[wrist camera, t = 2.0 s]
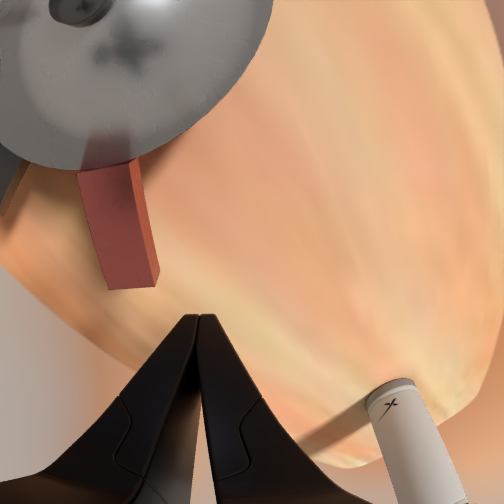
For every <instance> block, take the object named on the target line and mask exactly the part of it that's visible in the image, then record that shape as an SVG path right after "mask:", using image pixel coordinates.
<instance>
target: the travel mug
mask: <svg viewBox="0 0 504 504" xmlns="http://www.w3.org/2000/svg"><path fill="white" fill-rule="evenodd" d="M365 406H366V410H367V412H368V415H369V417H370V421H371V423H372V426H373V429H374V432H375V435H376V437H377V440H378V443H379V446H380V449H381V452H382V455H383V458H384V461H385V464H386V466H387V469H388V472H389V476H390V479H391V482H392V485H393V488H394V491H395V494H396V497H397V501H398V504H468V500H467V499H465V497H466V495H465V492H464V490H463V487H462V485H461V482H460V480H459V477H458V475H457V472H456V470H455V468H454V465H453V463H452V461H451V458H450V456H449V454H448V452H447V449H446V447H445V445H444V443H443V441H442V438H441V436H440V434H439V432H438V430H437V428H436V425H435V423H434V421H433V419H432V417H431V415H430V413H429V411H428V409H427V407H426V405H425V403H424V401H423V399H422V397H421V395H420V393H419V392H418V389H417V387H416V385H415V383H414V382H413V381H412V380H410V379H407V378H404V379H397V380H393V381H391V382H388V383H386V384H384V385H382V386H381V387H379V388H378V389H376V390H375V391H374V392H373V393H372V394H371V395H370V396H369V397H368V399H367V401H366V404H365Z"/></svg>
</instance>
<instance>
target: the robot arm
mask: <svg viewBox="0 0 504 504" xmlns="http://www.w3.org/2000/svg"><path fill="white" fill-rule="evenodd" d="M201 402H202V409H203V417H204V424H205V431H206V439H207V446H208V453H209V459H210V465H211V471H212V478H213V482H214V489H215V495H216V501H217V504H372V503H370V502H368V501H366V500H363V499H361V498H359V497H357V496H355V495H353V494H351V493H349V492H347V491H345V490H344V489H342V488H341V487H339V486H338V485H336V484H335V483H334V482H333V481H332V480H331V479H329V478H328V477H327V476H326V475H325V474H324V473H323V472H322V471H321V470H320V468H319V467H318V466H317V465H316V464H315V463H314V462H313V461H312V460H311V459H310V458H309V457H308V456H307V454H306V453H305V452H304V451H303V450H302V449H301V448H300V447H299V446H298V445H297V443H296V442H295V441H294V440H293V439H292V438H291V436H290V435H289V434H288V433H287V432H286V430H285V429H284V428H283V427H282V425H281V424H280V423H279V421H278V420H277V418H276V417H275V415H274V414H273V412H272V411H271V409H270V408H269V406H268V405H267V403H266V401H265V400H264V398H262V395H261V393H260V392H259V390H258V388H257V387H256V385H255V383H254V382H253V380H252V378H251V377H250V375H249V373H248V371H247V370H246V368H245V366H244V365H243V363H242V361H241V359H240V358H239V356H238V354H237V352H236V351H235V349H234V347H233V345H232V344H231V342H230V340H229V338H228V336H227V335H226V333H225V331H224V329H223V327H222V326H221V324H220V322H219V320H218V318H217V317H216V315H215V314H201V315H200V316H199V315H198V314H185V315H184V316H183V317H182V318H181V319H180V320H179V322H178V323H177V324H176V325H175V327H174V328H173V329H172V330H171V331H170V333H169V334H168V335H167V336H166V337H165V339H164V340H163V341H162V342H161V343H160V345H159V346H158V347H157V348H156V350H155V351H154V352H153V353H152V354H151V356H150V357H149V358H148V359H147V361H146V362H145V363H144V364H143V365H142V367H141V368H140V369H139V370H138V372H137V373H136V374H135V375H134V376H133V378H132V379H131V380H130V381H129V383H128V384H127V385H126V386H125V388H124V389H123V390H122V391H121V392H120V394H119V396H117V397H116V398H115V400H114V401H113V402H112V403H111V405H110V406H109V407H108V408H107V409H106V410H105V412H104V413H103V414H102V415H101V416H100V417H99V418H98V420H97V421H96V422H95V423H94V424H93V425H92V426H91V427H90V428H89V429H88V430H87V431H86V432H85V433H84V434H83V435H82V436H81V437H80V438H79V439H78V440H77V441H76V442H74V444H72V445H71V447H69V448H68V449H67V450H66V451H65V452H64V453H63V454H62V455H61V456H60V457H59V458H58V459H57V460H56V461H55V462H53V463H52V464H51V465H50V466H48V467H47V468H45V469H44V470H42V471H40V472H38V473H36V474H34V475H30V476H26V477H22V478H18V479H13V480H8V481H3V482H0V504H190V497H191V486H192V478H193V469H194V460H195V451H196V443H197V434H198V426H199V418H200V410H201Z"/></svg>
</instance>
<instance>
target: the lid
mask: <svg viewBox="0 0 504 504" xmlns="http://www.w3.org/2000/svg"><path fill="white" fill-rule="evenodd" d="M272 6H273V0H0V143H1V144H2V145H3V146H5V147H6V148H7V149H9V150H10V151H12V152H13V153H14V154H16V155H18V156H20V157H22V158H24V159H26V160H28V161H30V162H32V163H35V164H39V165H42V166H45V167H49V168H56V169H62V170H82V171H80V172H79V173H77V178H78V183H79V187H80V192H81V196H82V200H83V204H84V208H85V212H86V216H87V220H88V224H89V228H90V231H91V235H92V239H93V242H94V245H95V249H96V252H97V256H98V259H99V262H100V265H101V268H102V271H103V274H104V278H105V281H106V284H107V286H108V289H109V290H115V289H130V288H145V287H155V286H156V282H157V279H158V276H159V273H160V267H159V263H158V259H157V254H156V250H155V245H154V241H153V236H152V231H151V227H150V222H149V217H148V212H147V206H146V201H145V196H144V190H143V184H142V179H141V173H140V167H139V160H138V157H139V156H142V155H144V154H147V153H148V152H150V151H152V150H154V149H156V148H158V147H160V146H162V145H164V144H166V143H168V142H169V141H171V140H172V139H174V138H175V137H177V136H178V135H180V134H181V133H183V132H184V131H186V130H188V129H189V128H190V127H191V126H192V125H194V124H195V123H196V122H197V121H199V120H200V119H201V118H202V117H204V116H205V115H206V114H207V113H208V112H210V111H211V110H212V109H213V108H214V107H215V106H216V105H217V104H218V103H219V102H220V101H221V100H222V99H223V98H224V97H225V96H226V94H227V93H228V92H229V91H230V89H231V88H232V87H233V86H234V84H235V83H236V82H237V81H238V80H239V78H240V77H241V76H242V74H243V72H244V71H245V69H246V68H247V66H248V64H249V63H250V61H251V60H252V58H253V57H254V55H255V53H256V51H257V49H258V47H259V45H260V43H261V40H262V38H263V36H264V34H265V31H266V28H267V25H268V22H269V19H270V16H271V12H272Z"/></svg>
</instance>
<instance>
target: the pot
mask: <svg viewBox="0 0 504 504" xmlns="http://www.w3.org/2000/svg"><path fill="white" fill-rule="evenodd" d="M29 164H30V161H28V160H26V159H24V158H22V157H20V156H18V155H16V154H14V153H13V152H12V151H10V150H9V149H7V148H6V147H5V146H3V145H2V144H1V143H0V217H1V216H3V215H4V214H5V213H6V210H7V208H8V206H9V204H10V202H11V199H12V197H13V195H14V193H15V191H16V189H17V187H18V185H19V183H20V181H21V179H22V177H23V175H24V173H25V171H26V169H27V167H28V165H29Z"/></svg>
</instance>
